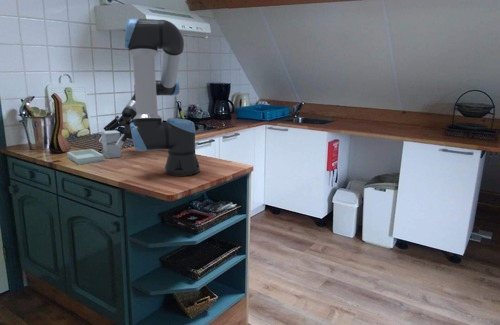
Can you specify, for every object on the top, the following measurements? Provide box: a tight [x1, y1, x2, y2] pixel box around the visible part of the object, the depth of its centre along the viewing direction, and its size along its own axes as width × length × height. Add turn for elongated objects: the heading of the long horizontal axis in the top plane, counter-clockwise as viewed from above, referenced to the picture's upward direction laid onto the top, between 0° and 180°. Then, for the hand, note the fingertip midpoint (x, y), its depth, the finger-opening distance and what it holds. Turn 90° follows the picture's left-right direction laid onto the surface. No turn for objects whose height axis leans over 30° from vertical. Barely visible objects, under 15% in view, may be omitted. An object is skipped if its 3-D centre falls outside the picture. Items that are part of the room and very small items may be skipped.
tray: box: [66, 148, 105, 166], centre depth 190 cm, size 16×12×3 cm
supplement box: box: [101, 129, 123, 159], centre depth 195 cm, size 7×7×13 cm
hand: (109, 144), depth 195 cm, fingers open, 13 cm apart
